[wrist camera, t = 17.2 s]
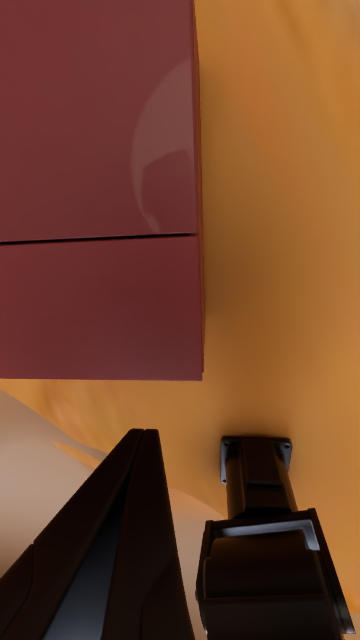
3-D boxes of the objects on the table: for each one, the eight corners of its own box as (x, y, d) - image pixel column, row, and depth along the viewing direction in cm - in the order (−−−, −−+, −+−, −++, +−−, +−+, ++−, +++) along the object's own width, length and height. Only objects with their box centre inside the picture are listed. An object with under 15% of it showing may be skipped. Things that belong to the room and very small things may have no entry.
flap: (202, 376, 14) (202, 381, 14) (-18, 374, 16) (-23, 378, 16) (197, 234, 11) (197, 236, 11) (-77, 247, 13) (-85, 249, 12)
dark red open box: (205, 320, 21) (203, 382, 14) (45, 322, 22) (-23, 379, 16) (199, 62, 14) (190, -44, 8) (-28, 89, 16) (-199, 20, 9)
